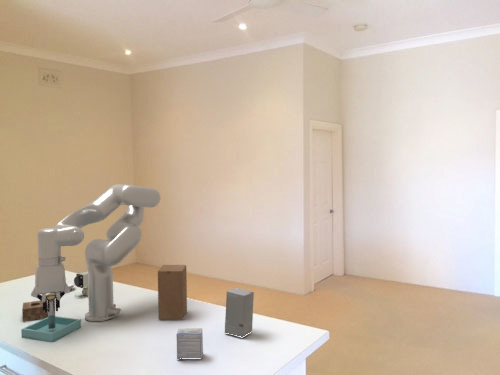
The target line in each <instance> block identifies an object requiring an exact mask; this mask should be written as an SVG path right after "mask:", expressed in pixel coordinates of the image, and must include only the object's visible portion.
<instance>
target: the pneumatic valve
mask: <svg viewBox="0 0 500 375" xmlns="http://www.w3.org/2000/svg"><path fill="white" fill-rule="evenodd" d="M73 281H74V284H75V285H74V286H76V287H77V288H81V289H82V291H81V295H82V296H86V297H88V269H86V271H83V272H78V273H76V276H75V277H74V279H73Z"/></svg>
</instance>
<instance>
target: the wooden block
mask: <svg viewBox="0 0 500 375" xmlns="http://www.w3.org/2000/svg"><path fill="white" fill-rule="evenodd" d="M187 286H188V285H187V265H186V264H162V266H161V267H160V268H158V270H157V301H158V302H157V304H158V305H157V306H158V308H157V309H158V320H159V321H179V320H178V319H183V320H184V319H185V317H186V314H187V311H188V292H187V291H188V290H187Z"/></svg>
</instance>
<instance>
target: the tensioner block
mask: <svg viewBox="0 0 500 375" xmlns="http://www.w3.org/2000/svg"><path fill="white" fill-rule="evenodd" d="M21 308H22V309H21V310H22V313H21V314H22V323H25V322H29V321H32V322H33V321H37V320H43V319H45V318H47V317H48V301H47V313H45V310H43V302H42V301H41V300H33V301H26V302H23V303H22V307H21Z"/></svg>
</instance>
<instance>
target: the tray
mask: <svg viewBox="0 0 500 375" xmlns="http://www.w3.org/2000/svg"><path fill="white" fill-rule="evenodd" d="M81 322H82V319H80V318H71V317H65V316H56V315H55V324H56V327H55V328H53V329H49V328H48V317H47V318H45V319H39V321H36V322H34V323H32V324H29V325H28V326H25V327H23V328H21V331H20V332H21V334H20V335H21V338H23V339H31V340H37V341H43V342H50V343H54V342H56V341H58V340H60V339H62V338H64V337H65V336H67V335H69V334H71V333H73V332H74V331H77V330H78V329H81V327H82V323H81Z"/></svg>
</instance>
